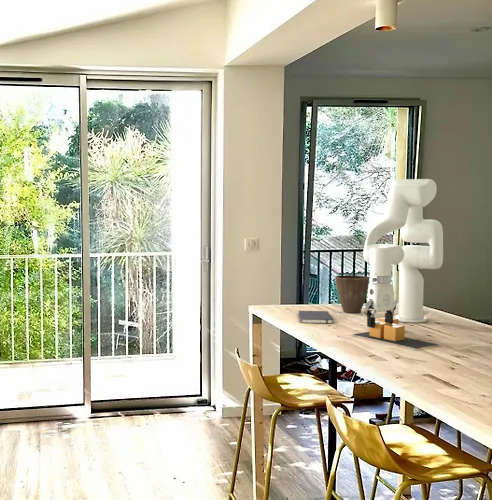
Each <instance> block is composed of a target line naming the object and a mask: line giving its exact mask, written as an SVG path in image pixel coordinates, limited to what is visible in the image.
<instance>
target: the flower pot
mask: <svg viewBox="0 0 492 500" xmlns="http://www.w3.org/2000/svg"><path fill="white" fill-rule="evenodd" d="M334 281H335V287H336V291H337V296H338V299H339V303H340V306H341V309H342V312H343V313H348V314H358V313H361V311H362V310H363V305H365V301H366V297H367V295H368V289H369V284H370V276H366V275H356V274H355V275H354V274H353V275H352V274H350V275H349V274H344V275H342V274H341V275H335V276H334Z"/></svg>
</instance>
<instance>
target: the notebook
mask: <svg viewBox="0 0 492 500" xmlns="http://www.w3.org/2000/svg"><path fill="white" fill-rule="evenodd" d="M298 317H299V320H300V323H302V324H333V323H334V322H333V320H334V318H332V316H331V314H330V313H329V311H328V310H298Z"/></svg>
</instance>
